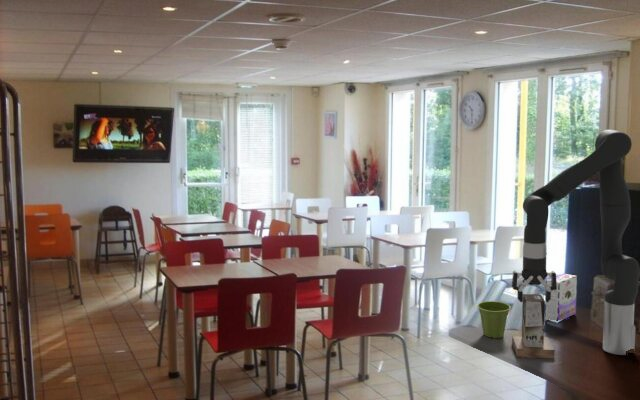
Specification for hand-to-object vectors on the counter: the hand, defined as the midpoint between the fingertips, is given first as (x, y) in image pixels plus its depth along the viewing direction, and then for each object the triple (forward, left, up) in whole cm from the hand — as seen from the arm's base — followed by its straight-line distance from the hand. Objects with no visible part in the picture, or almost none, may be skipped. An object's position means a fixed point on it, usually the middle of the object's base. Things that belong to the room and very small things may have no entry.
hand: (533, 301), depth 225 cm
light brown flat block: (0, 0, -18) cm, 18 cm away
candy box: (-17, -37, -18) cm, 44 cm away
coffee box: (0, 0, -15) cm, 15 cm away
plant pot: (+11, -15, -18) cm, 26 cm away
